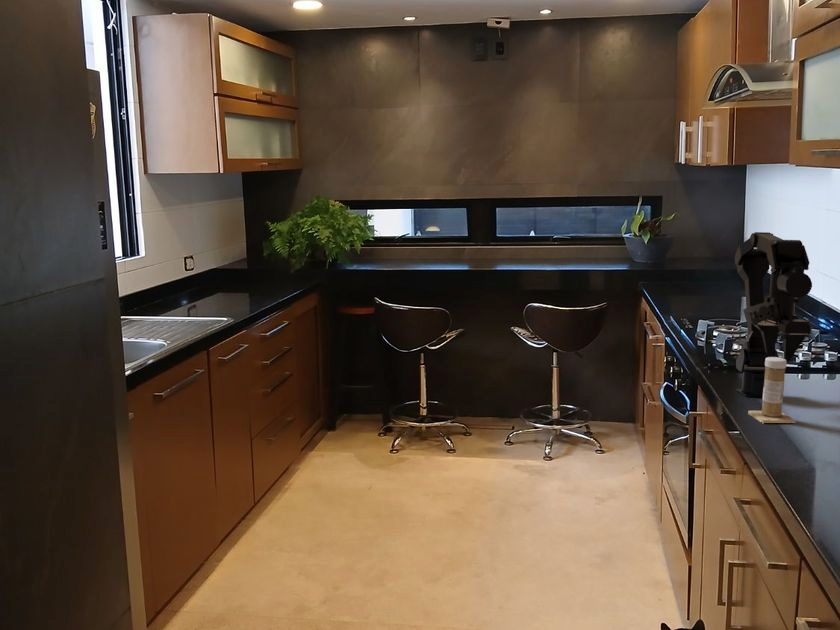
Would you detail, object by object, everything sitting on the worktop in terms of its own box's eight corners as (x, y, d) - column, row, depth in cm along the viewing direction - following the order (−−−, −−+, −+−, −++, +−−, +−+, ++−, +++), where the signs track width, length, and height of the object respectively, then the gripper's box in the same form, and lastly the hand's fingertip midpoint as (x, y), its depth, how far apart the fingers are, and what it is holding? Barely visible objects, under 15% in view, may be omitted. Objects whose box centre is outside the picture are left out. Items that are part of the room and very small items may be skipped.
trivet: (748, 413, 199) (748, 410, 199) (779, 413, 199) (779, 410, 199) (763, 423, 191) (763, 419, 191) (795, 423, 191) (795, 419, 191)
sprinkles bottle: (767, 411, 198) (772, 355, 196) (785, 415, 195) (790, 359, 192) (756, 414, 195) (761, 357, 193) (775, 418, 192) (780, 361, 190)
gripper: (732, 288, 206) (728, 350, 208) (767, 297, 187) (762, 365, 190) (776, 288, 206) (772, 350, 209) (815, 297, 188) (810, 365, 190)
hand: (777, 357), depth 199 cm, fingers open, 9 cm apart
